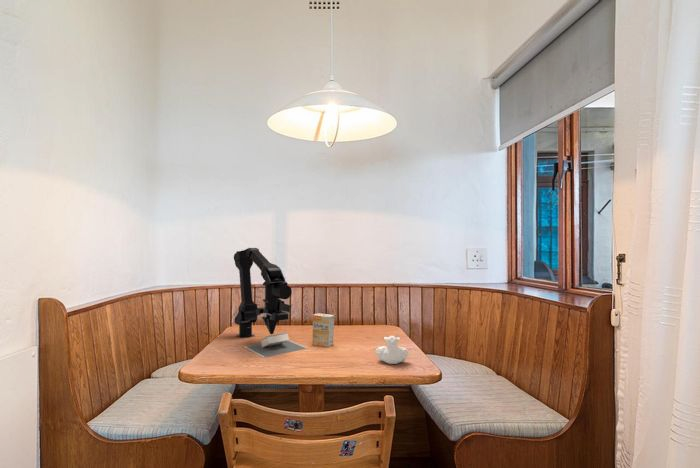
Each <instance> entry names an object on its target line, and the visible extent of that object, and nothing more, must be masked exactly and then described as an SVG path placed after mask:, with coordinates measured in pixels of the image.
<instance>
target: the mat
mask: <svg viewBox="0 0 700 468" xmlns="http://www.w3.org/2000/svg"><path fill="white" fill-rule="evenodd" d="M244 348H245V349H246V350H249V351H250V352H252V353H254V354H255V355H257V356H259V357H261V358H263V359H264V358H269V357H273V356H279V355H283V354H287V353H292V352H293V353H294V352H297V351H302V350H303V351H304V350H308V349H309V347H306V346H304V345H303V344H299V343H296V342H294V341H292V340H291V339H289V340H288V341H286V342H284V343H282V344H279V345H273V346H268V347H263V348H262V344H261V343H257V344H253V345H246V346H244Z"/></svg>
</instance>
